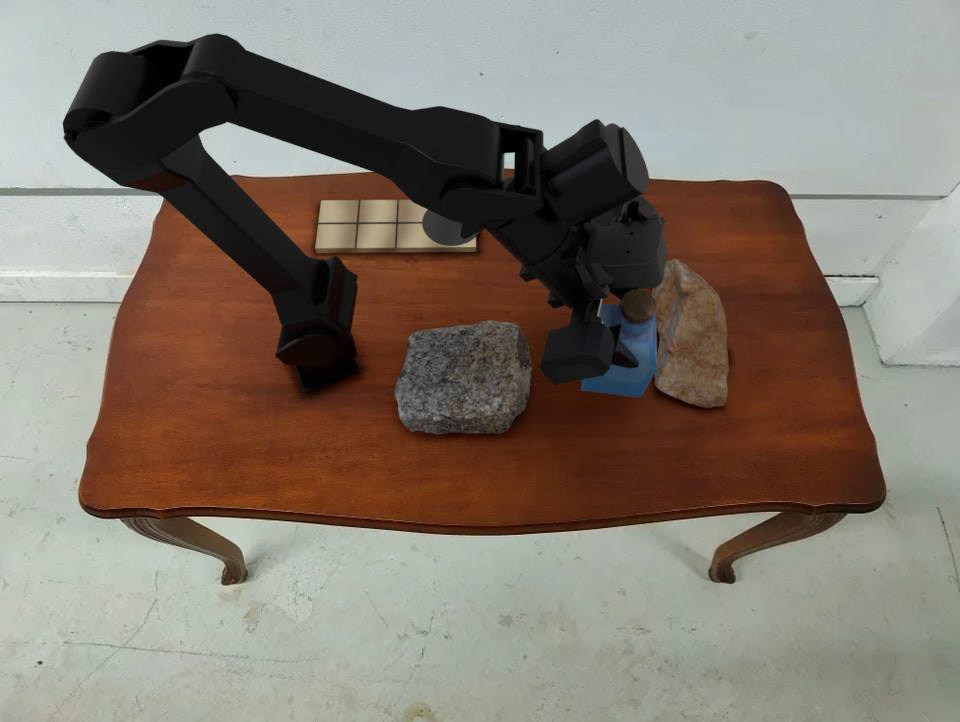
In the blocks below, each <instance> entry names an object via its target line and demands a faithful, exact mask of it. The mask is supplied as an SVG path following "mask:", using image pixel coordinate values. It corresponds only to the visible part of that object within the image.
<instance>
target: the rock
mask: <svg viewBox="0 0 960 722" xmlns="http://www.w3.org/2000/svg"><path fill="white" fill-rule="evenodd" d="M533 368H534V366H533V362H532V357H531V354H530V346H529V341H528V339H527V335H526V334H525V332H523V331H522V329H521V327H520V325H519V324H517V323H514V322H508V321H505V320H504V321H498V320H497V321H496V320H493V319H485V320H482V321H480V322H477V323H475V324H469V325H452V326H449V327H446V326H445V327H443V326H442V327H437V328H432V329H420V330H416V331H415V332H412V333H411V334H410V336H409V337H408V338H407V341H406V354H405V356H404V361H403V366H402V369H401V370H400V373H399V375H398V377H397V379H396V382H395V386H394V391H393V395H394V398H395V400H396V401H397V411H398V415H399V420H400V421H401V422H402V424H403V426H404V427H405V429H407V431H410V432H412V433H413V432H416V431H420V432H424V433H427V434H435V435H436V436H437V435H442V434H449V433H450V434H451V433H454V434H459V433H460V434H461V433H462V434H496V435H501V434H503V433H505V432H506V431H508V430H510V429H511V426H512V424H513V421H514V420H515V418H517V416H519V415H520V414H522V413H523V412H524V411H525V410H526V408H527V405H528V401H529V400H530V395H531V393H530V387H531V381H532V373H533Z"/></svg>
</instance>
